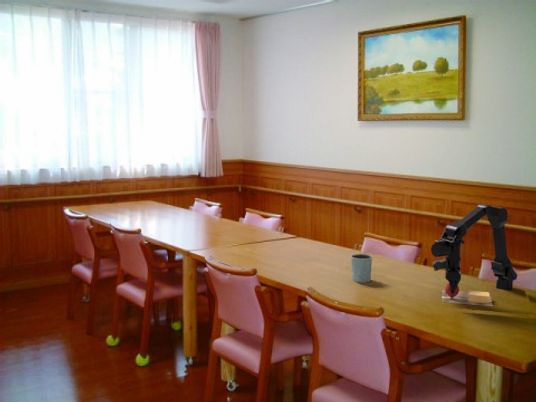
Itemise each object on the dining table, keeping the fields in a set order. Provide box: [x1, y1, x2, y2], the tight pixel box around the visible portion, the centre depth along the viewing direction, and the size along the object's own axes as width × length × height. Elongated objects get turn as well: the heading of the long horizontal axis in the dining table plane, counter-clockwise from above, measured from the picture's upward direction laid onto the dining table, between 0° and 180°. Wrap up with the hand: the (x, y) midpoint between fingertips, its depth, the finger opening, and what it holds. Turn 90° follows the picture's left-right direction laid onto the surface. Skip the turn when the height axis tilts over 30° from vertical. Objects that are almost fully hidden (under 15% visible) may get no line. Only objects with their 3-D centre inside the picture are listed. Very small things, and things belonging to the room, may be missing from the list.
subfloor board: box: [441, 289, 493, 307], centre depth 253 cm, size 20×18×2 cm
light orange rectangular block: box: [468, 290, 490, 303], centre depth 248 cm, size 8×6×3 cm
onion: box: [444, 282, 460, 298], centre depth 252 cm, size 6×6×8 cm
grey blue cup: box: [350, 253, 373, 284], centre depth 285 cm, size 10×10×12 cm
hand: (452, 289), depth 252 cm, fingers open, 9 cm apart
